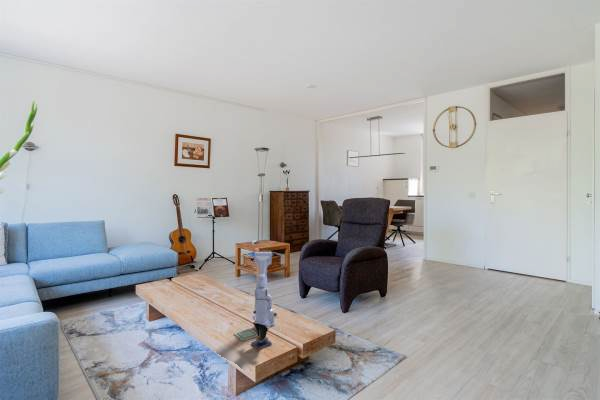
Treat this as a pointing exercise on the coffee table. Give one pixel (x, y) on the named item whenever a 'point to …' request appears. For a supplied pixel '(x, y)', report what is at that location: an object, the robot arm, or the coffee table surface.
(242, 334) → the board
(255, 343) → the ink pad
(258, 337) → the stamp
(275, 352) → the coffee table surface
